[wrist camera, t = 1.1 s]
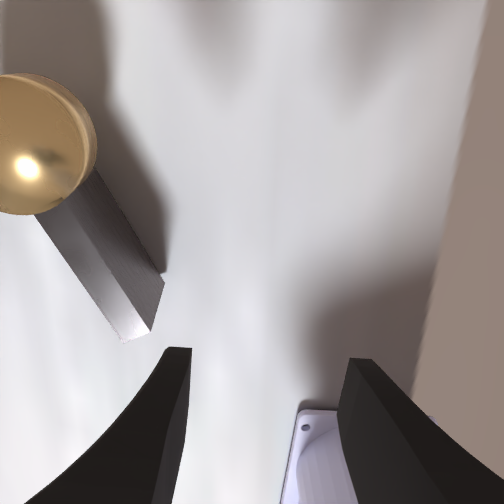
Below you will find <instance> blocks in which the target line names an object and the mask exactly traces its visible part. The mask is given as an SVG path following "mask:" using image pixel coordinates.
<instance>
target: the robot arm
mask: <svg viewBox="0 0 504 504" xmlns="http://www.w3.org/2000/svg"><path fill="white" fill-rule="evenodd" d="M191 358H192V348H184V347H168V348H167V349H165V351H164V353H163V355H162V357H161V358H160V360H159V362H158V364H157V365H156V367H155V369H154V370H153V372H152V373H151V375H150V376H149V378H148V379H147V381H146V382H145V383H144V385H143V386H142V387H141V389H140V390H139V391H138V393H137V394H136V396H135V397H134V398H133V400H132V401H131V402H130V403H129V405H128V406H127V407H126V408H125V409H124V410H123V412H122V413H121V414H120V415H119V416H118V418H117V419H116V420H115V421H114V422H113V424H112V425H111V426H110V427H109V428H108V429H107V430H106V431H105V432H104V433H103V434H102V436H101V437H100V438H99V439H98V440H97V441H96V442H95V443H94V444H93V445H92V446H91V447H90V448H89V449H88V450H87V451H86V452H85V453H84V454H83V455H81V456H80V457H79V458H78V459H77V460H76V461H75V462H74V463H73V464H72V465H71V466H69V467H68V468H67V469H66V470H65V471H64V472H63V473H62V474H60V475H59V476H58V477H57V478H56V479H55V480H53V481H52V482H51V483H50V484H49V485H47V486H46V487H45V488H44V489H42V490H41V491H40V492H38V493H37V494H36V495H35V496H33V497H32V498H31V499H29V500H28V501H27V502H26V503H24V504H171V503H172V499H173V494H174V490H175V485H176V480H177V476H178V471H179V466H180V462H181V457H182V452H183V448H184V443H185V434H186V426H187V416H188V407H189V391H190V374H191ZM304 424H308V425H307V426H302V425H304ZM281 504H504V480H503V479H502V478H501V477H499V476H498V475H497V474H495V473H494V472H492V471H491V470H490V469H489V468H487V467H486V466H485V465H484V464H482V463H481V462H480V461H478V460H477V459H476V458H475V457H473V456H472V455H471V454H469V453H468V452H467V451H466V450H465V449H464V448H462V447H461V446H460V445H459V444H458V443H456V442H455V441H454V440H453V439H452V438H451V437H450V436H448V435H447V434H446V433H445V432H444V431H443V430H442V429H441V428H440V427H439V426H438V423H437V421H436V419H435V418H434V417H432V416H427V415H426V414H425V413H424V412H423V411H422V410H420V408H419V407H418V406H417V405H416V404H415V403H414V402H413V401H412V400H411V399H410V398H409V397H408V396H407V395H406V394H405V393H404V392H403V391H402V390H401V389H400V388H399V387H398V386H397V385H396V384H395V383H394V382H393V381H392V380H391V379H390V378H389V377H388V375H387V374H386V373H385V372H384V371H383V370H382V369H381V368H380V367H379V366H378V365H377V364H376V363H375V362H374V361H373V360H372V359H360V358H350V360H349V364H348V368H347V372H346V376H345V381H344V385H343V389H342V393H341V397H340V402H339V406H338V410H337V411H327V410H309V409H307V410H302V411H301V412H299V413H298V416H297V420H296V426H295V431H294V436H293V441H292V447H291V452H290V457H289V462H288V467H287V473H286V478H285V483H284V488H283V494H282V499H281Z"/></svg>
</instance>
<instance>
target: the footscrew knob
mask: <svg viewBox="0 0 504 504" xmlns="http://www.w3.org/2000/svg"><path fill="white" fill-rule="evenodd" d="M96 156H97V137H96V132H95V128H94V125H93V123H92V120H91V118H90V116H89V114H88V112H87V111H86V109H85V108H84V106H83V105H82V104H81V102H80V101H79V100H78V99H77V98H76V97H75V96H74V95H73V94H72V93H71V92H70V91H69V90H67V89H66V88H65V87H63V86H62V85H60V84H59V83H57V82H55V81H53V80H51V79H49V78H46V77H43V76H40V75H36V74H30V73H16V74H7V75H0V212H4V213H8V214H15V215H32V214H34V216H35V217H36V219H37V220H38V222H39V223H40V224H41V226H42V227H43V229H44V230H45V232H46V233H47V234H48V236H49V237H50V239H51V240H52V242H53V243H54V244H55V246H56V247H57V249H58V250H59V252H60V253H61V254H62V256H63V257H64V259H65V260H66V262H67V263H68V264H69V266H70V267H71V269H72V270H73V272H74V273H75V275H76V276H77V277H78V279H79V280H80V282H81V283H82V285H83V286H84V287H85V289H86V290H87V292H88V293H89V295H90V296H91V297H92V299H93V300H94V302H95V303H96V305H97V306H98V307H99V309H100V310H101V312H102V313H103V315H104V316H105V318H106V319H107V320H108V322H109V323H110V325H111V326H112V328H113V329H114V330H115V332H116V333H117V335H118V336H119V338H120V339H121V340H122V342H123V343H125V342H128V341H130V340H133V339H135V338H138V337H140V336H142V335H145V334H147V333H150V332H151V329H152V325H153V322H154V318H155V315H156V312H157V308H158V305H159V301H160V298H161V295H162V291H163V288H164V284H165V282H164V281H163V279H162V277H161V276H160V274H159V272H158V271H157V269H156V267H155V266H154V264H153V263H152V261H151V259H150V258H149V256H148V254H147V253H146V251H145V249H144V248H143V246H142V244H141V243H140V241H139V239H138V238H137V236H136V234H135V233H134V231H133V230H132V228H131V226H130V225H129V223H128V221H127V220H126V218H125V216H124V215H123V213H122V211H121V210H120V208H119V206H118V205H117V203H116V201H115V200H114V198H113V197H112V195H111V193H110V192H109V190H108V188H107V187H106V185H105V183H104V182H103V180H102V178H101V177H100V175H99V173H98V172H97V170H96V169H93V167H94V164H95V161H96Z"/></svg>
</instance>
